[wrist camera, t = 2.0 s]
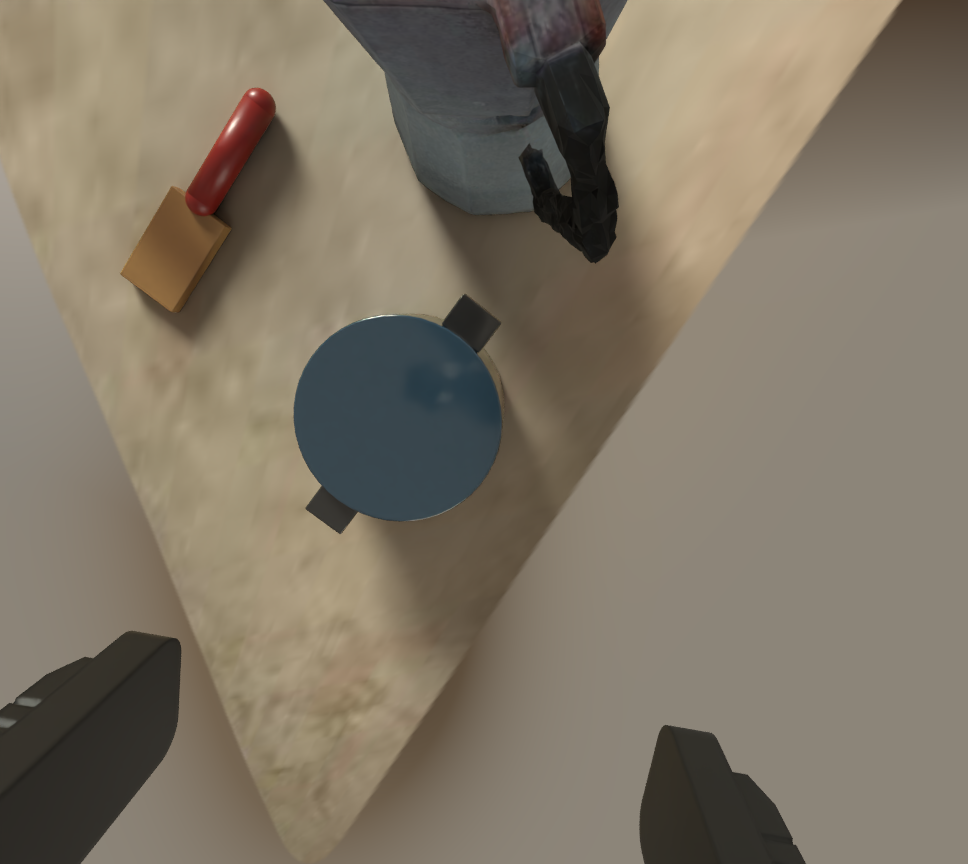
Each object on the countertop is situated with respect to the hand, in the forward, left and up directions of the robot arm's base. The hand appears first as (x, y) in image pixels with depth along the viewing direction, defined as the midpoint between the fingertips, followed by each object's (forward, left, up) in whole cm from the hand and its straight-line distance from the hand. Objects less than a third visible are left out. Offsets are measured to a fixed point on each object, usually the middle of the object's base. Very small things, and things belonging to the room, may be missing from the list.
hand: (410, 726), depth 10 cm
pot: (-4, -1, -20) cm, 21 cm away
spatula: (-17, +1, -20) cm, 27 cm away
